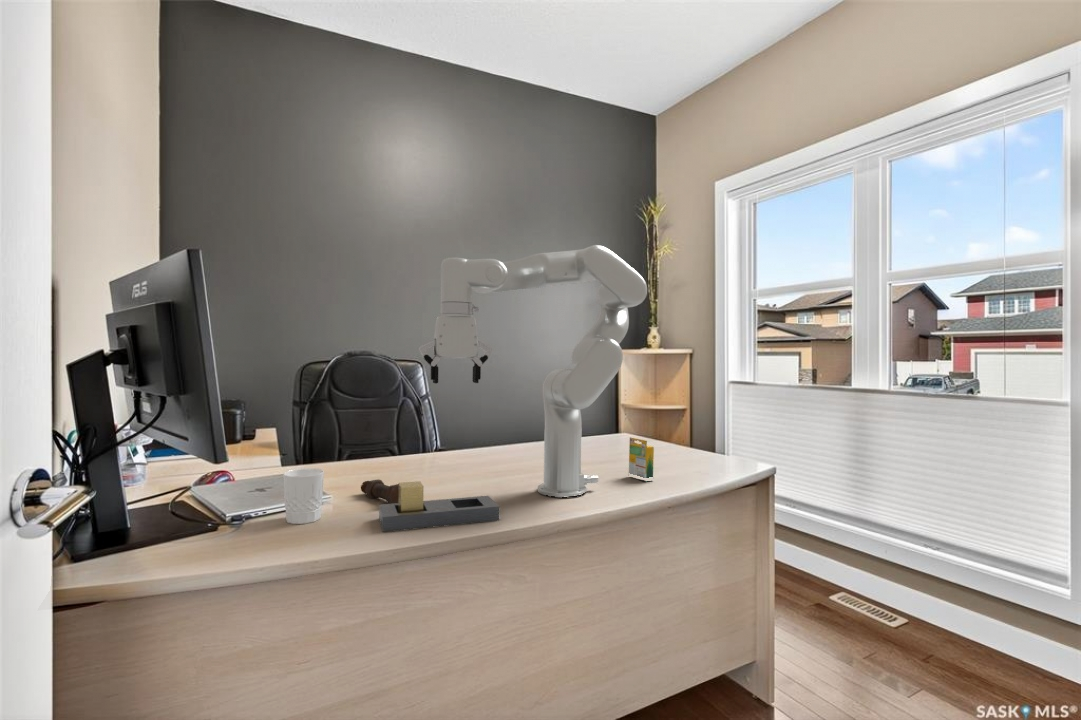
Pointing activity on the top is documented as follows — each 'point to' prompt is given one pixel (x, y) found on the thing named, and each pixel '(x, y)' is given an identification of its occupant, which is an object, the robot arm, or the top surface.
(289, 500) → the white cup
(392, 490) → the bolt
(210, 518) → the top surface
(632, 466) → the crayon box
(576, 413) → the robot arm
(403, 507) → the gold block
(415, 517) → the grey peg board
